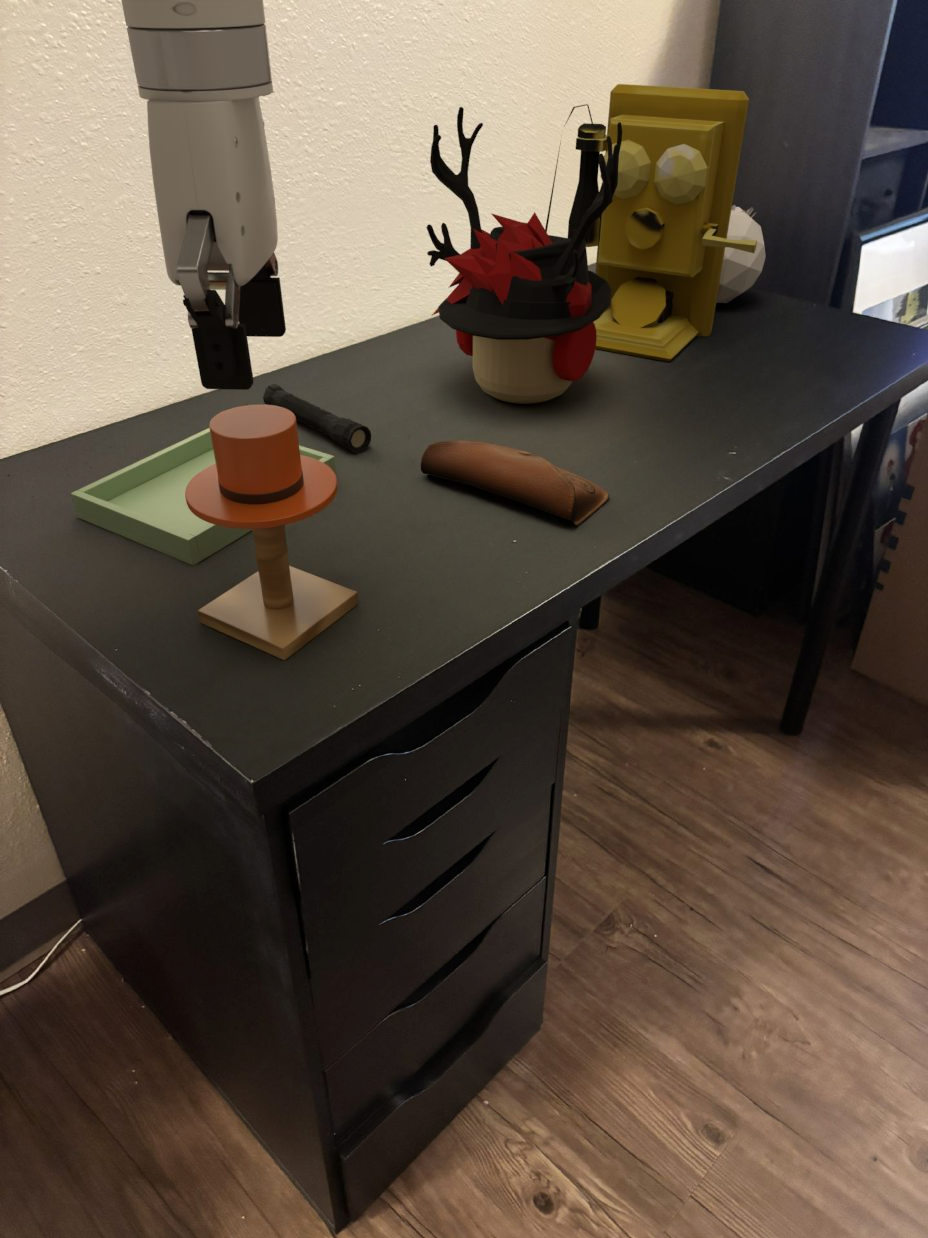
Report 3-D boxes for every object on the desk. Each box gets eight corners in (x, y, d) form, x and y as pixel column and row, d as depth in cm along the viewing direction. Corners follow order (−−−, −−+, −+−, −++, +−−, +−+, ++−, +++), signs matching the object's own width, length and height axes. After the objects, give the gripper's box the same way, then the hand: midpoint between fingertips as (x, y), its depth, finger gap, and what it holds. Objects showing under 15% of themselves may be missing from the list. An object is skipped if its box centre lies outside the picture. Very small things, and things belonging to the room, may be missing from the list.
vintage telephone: (504, 332, 129) (510, 90, 112) (545, 306, 139) (557, 80, 122) (720, 372, 117) (766, 106, 100) (749, 340, 127) (795, 93, 109)
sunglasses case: (615, 490, 90) (604, 449, 84) (582, 548, 88) (569, 510, 82) (466, 445, 98) (447, 405, 92) (433, 497, 96) (411, 459, 90)
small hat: (266, 545, 61) (255, 469, 58) (154, 502, 66) (137, 430, 63) (367, 481, 68) (363, 411, 65) (259, 447, 73) (250, 380, 70)
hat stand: (284, 661, 69) (266, 534, 62) (199, 622, 73) (174, 500, 66) (358, 603, 75) (349, 483, 68) (276, 571, 79) (260, 454, 72)
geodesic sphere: (741, 242, 148) (710, 169, 138) (804, 263, 137) (775, 186, 128) (674, 308, 149) (638, 241, 139) (732, 334, 138) (697, 263, 129)
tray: (193, 565, 79) (188, 540, 78) (77, 517, 86) (70, 493, 85) (336, 479, 93) (334, 455, 91) (226, 443, 100) (222, 421, 98)
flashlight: (350, 456, 97) (348, 430, 95) (263, 411, 107) (260, 387, 105) (372, 448, 99) (370, 422, 97) (284, 404, 108) (281, 380, 106)
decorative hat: (644, 387, 113) (677, 112, 95) (555, 446, 99) (575, 138, 81) (493, 349, 124) (498, 96, 106) (394, 398, 110) (380, 117, 92)
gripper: (183, 51, 59) (226, 317, 69) (77, 82, 45) (150, 410, 55) (298, 51, 58) (324, 319, 68) (228, 82, 44) (274, 412, 54)
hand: (247, 359), depth 61 cm, fingers open, 9 cm apart
